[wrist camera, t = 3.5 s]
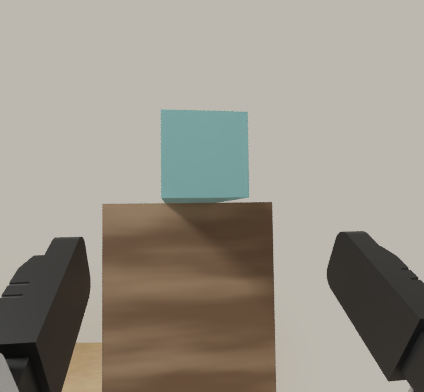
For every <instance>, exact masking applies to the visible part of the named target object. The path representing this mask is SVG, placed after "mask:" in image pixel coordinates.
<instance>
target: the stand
mask: <svg viewBox="0 0 424 392" xmlns="http://www.w3.org/2000/svg"><path fill="white" fill-rule="evenodd" d="M102 250H103V252H102V253H103V255H102V257H103V258H102V259H103V260H102V268H103V269H102V270H103V271H102V275H103V276H102V278H103V279H102V283H103V284H102V289H103V290H102V293H103V294H102V305H103V306H102V318H103V319H102V335H103V336H102V392H276V369H275V322H274V321H275V319H274V274H273V273H274V272H273V225H272V202H258V203H257V202H253V203H161V204H160V203H159V204H103V249H102Z"/></svg>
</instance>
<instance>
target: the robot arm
mask: <svg viewBox="0 0 424 392" xmlns="http://www.w3.org/2000/svg"><path fill="white" fill-rule="evenodd" d="M327 280H328V284H329V286H330V288H331V290H332V291H333V293H334V295H335V296H336V298H337V299H338V301H339V303H340V304H341V306H342V307H343V309H344V311H345V312H346V314H347V316H348V317H349V319H350V320H351V322H352V323H353V325H354V327H355V328H356V330H357V332H358V333H359V335H360V336H361V338H362V340H363V341H364V343H365V345H366V346H367V348H368V349H369V351H370V353H371V354H372V356H373V357H374V359H375V361H376V362H377V364H378V365H379V367H380V369H381V370H382V372H383V374H384V375H385V377H386V378H387V380H388V381H398V380H407V381H408V383H409V384H410V386H411V387H410V389H409V391H408V392H424V283H423V282H422V281H421V280H418V277H417V276H416V275H415V274H414V273H413V272H412V271H411V270H409V269H408V267H407V266H406V265H405V264H404V263H403V262H402V261H401V260H400V259H399V258H398V257H397V256H396V255H394V254H393V253H391V252H389V251H388V250H386V249H385V248H383V247H381V246H379V245H378V244H377V243H376V242H375V241H374V240H373V239H372V238H371V237H370V236H369V235H368V234H367V233H366V232H363V231H356V232H340V233H339V234H338V235H337V237H336V240H335V244H334V247H333V251H332V254H331V257H330V261H329V265H328V268H327ZM89 294H90V273H89V267H88V261H87V254H86V248H85V242H84V239H83V237H60V238H54V239H53V240H52V242H51V244H50V246H49V248H48V250H47V251H46V253H45V255H39V256H33V257H32V258H30V259H29V260H28V261H27V262H26V263H24V264H23V265H22V266H21V267H19V269H18V270H17V271H16V273H15V275H14V276H13V278H12V279H11V281H10V285H9V286H7V288H6V289H5V291H4V292H3V294H2V298H0V392H61V391H62V388H63V384H64V381H65V377H66V374H67V371H68V367H69V364H70V360H71V357H72V353H73V350H74V347H75V343H76V340H77V336H78V333H79V330H80V326H81V323H82V319H83V316H84V313H85V309H86V306H87V302H88V298H89Z"/></svg>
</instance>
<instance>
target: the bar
mask: <svg viewBox="0 0 424 392" xmlns="http://www.w3.org/2000/svg"><path fill="white" fill-rule="evenodd" d="M247 115H248V114H247V112H233V111H230V112H229V111H196V110H161V198H162V200H163V201H164V202H165V203H217V202H223V201H229V200H236V199H241V198H248V197H249V173H248V172H249V171H248V117H247Z"/></svg>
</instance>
